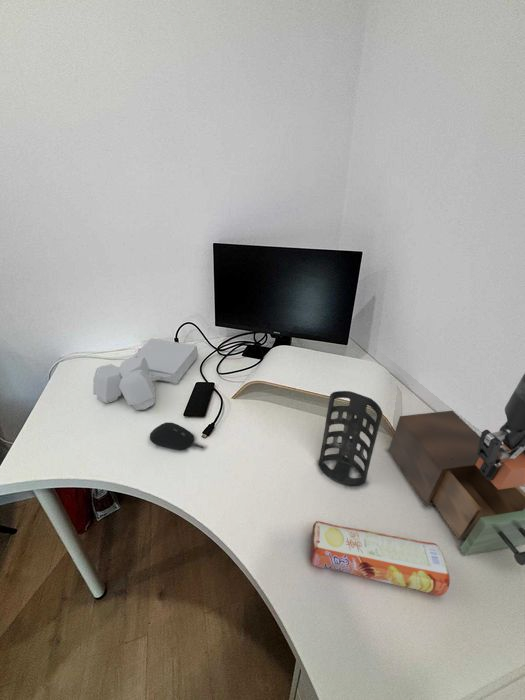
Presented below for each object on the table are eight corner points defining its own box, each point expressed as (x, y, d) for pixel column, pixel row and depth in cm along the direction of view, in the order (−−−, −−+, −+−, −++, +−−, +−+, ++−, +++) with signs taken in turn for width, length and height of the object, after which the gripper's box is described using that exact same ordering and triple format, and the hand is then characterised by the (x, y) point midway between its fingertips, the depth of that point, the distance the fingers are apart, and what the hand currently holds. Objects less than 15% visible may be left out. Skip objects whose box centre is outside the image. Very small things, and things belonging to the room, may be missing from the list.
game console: (200, 355, 109) (194, 326, 101) (151, 420, 84) (139, 388, 77) (153, 347, 113) (145, 319, 106) (94, 407, 89) (77, 375, 81)
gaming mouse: (197, 457, 71) (195, 446, 69) (145, 442, 75) (142, 431, 73) (209, 438, 76) (207, 427, 74) (160, 425, 80) (157, 414, 78)
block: (499, 461, 54) (510, 442, 51) (524, 486, 49) (538, 466, 47) (475, 465, 53) (485, 445, 50) (498, 489, 49) (511, 470, 46)
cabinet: (482, 497, 63) (505, 460, 57) (424, 505, 61) (442, 469, 55) (437, 444, 75) (452, 410, 69) (388, 450, 73) (399, 415, 68)
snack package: (308, 570, 50) (312, 550, 47) (311, 531, 56) (314, 511, 53) (441, 603, 47) (456, 584, 43) (430, 558, 52) (442, 538, 49)
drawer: (550, 574, 50) (582, 544, 45) (486, 587, 48) (512, 557, 43) (469, 480, 65) (486, 450, 60) (418, 487, 64) (432, 457, 59)
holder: (314, 475, 66) (327, 403, 58) (319, 453, 73) (332, 385, 65) (364, 492, 63) (386, 417, 55) (365, 467, 70) (385, 397, 61)
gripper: (530, 420, 38) (480, 499, 47) (619, 410, 40) (556, 487, 49) (484, 386, 45) (447, 461, 53) (563, 378, 47) (515, 452, 55)
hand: (499, 473), depth 51 cm, fingers closed on block, 5 cm apart
